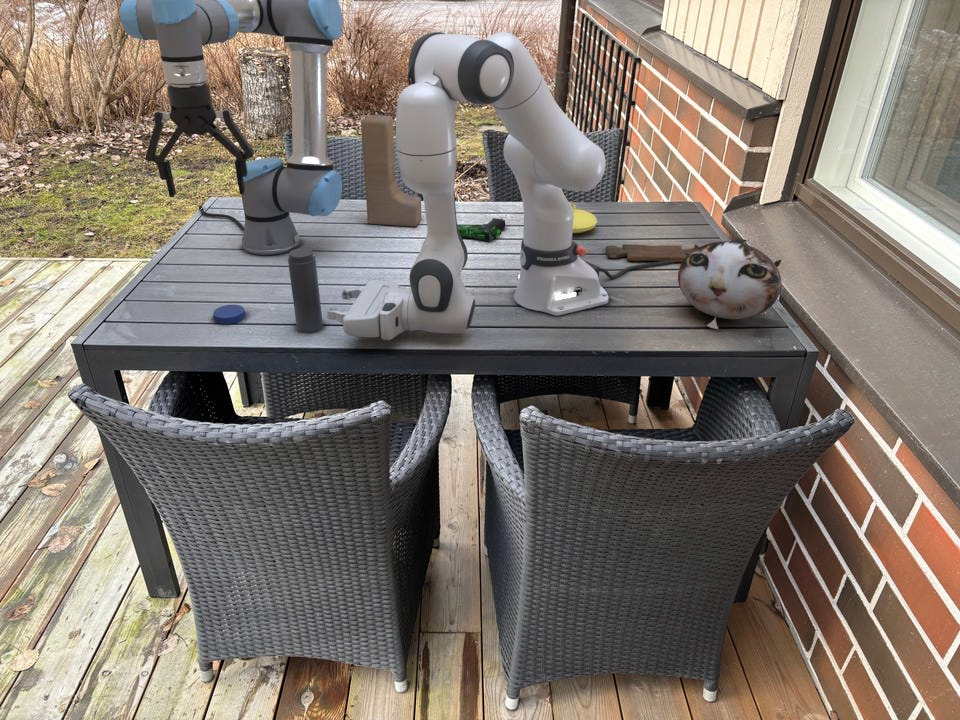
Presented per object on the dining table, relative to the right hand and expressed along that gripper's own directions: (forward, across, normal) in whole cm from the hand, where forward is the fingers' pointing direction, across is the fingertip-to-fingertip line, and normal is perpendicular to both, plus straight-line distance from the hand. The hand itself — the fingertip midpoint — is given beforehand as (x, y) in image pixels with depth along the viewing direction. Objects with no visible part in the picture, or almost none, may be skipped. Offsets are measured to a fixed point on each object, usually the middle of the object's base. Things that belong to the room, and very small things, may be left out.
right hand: (335, 303), depth 153 cm
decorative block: (+5, -68, +6) cm, 68 cm away
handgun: (-21, -64, +6) cm, 67 cm away
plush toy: (-84, -21, +6) cm, 87 cm away
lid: (+25, -1, +5) cm, 26 cm away
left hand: (+25, -1, -22) cm, 34 cm away
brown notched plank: (-71, -55, +6) cm, 90 cm away
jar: (+6, 0, +6) cm, 9 cm away
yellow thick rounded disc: (-47, -71, +6) cm, 86 cm away
